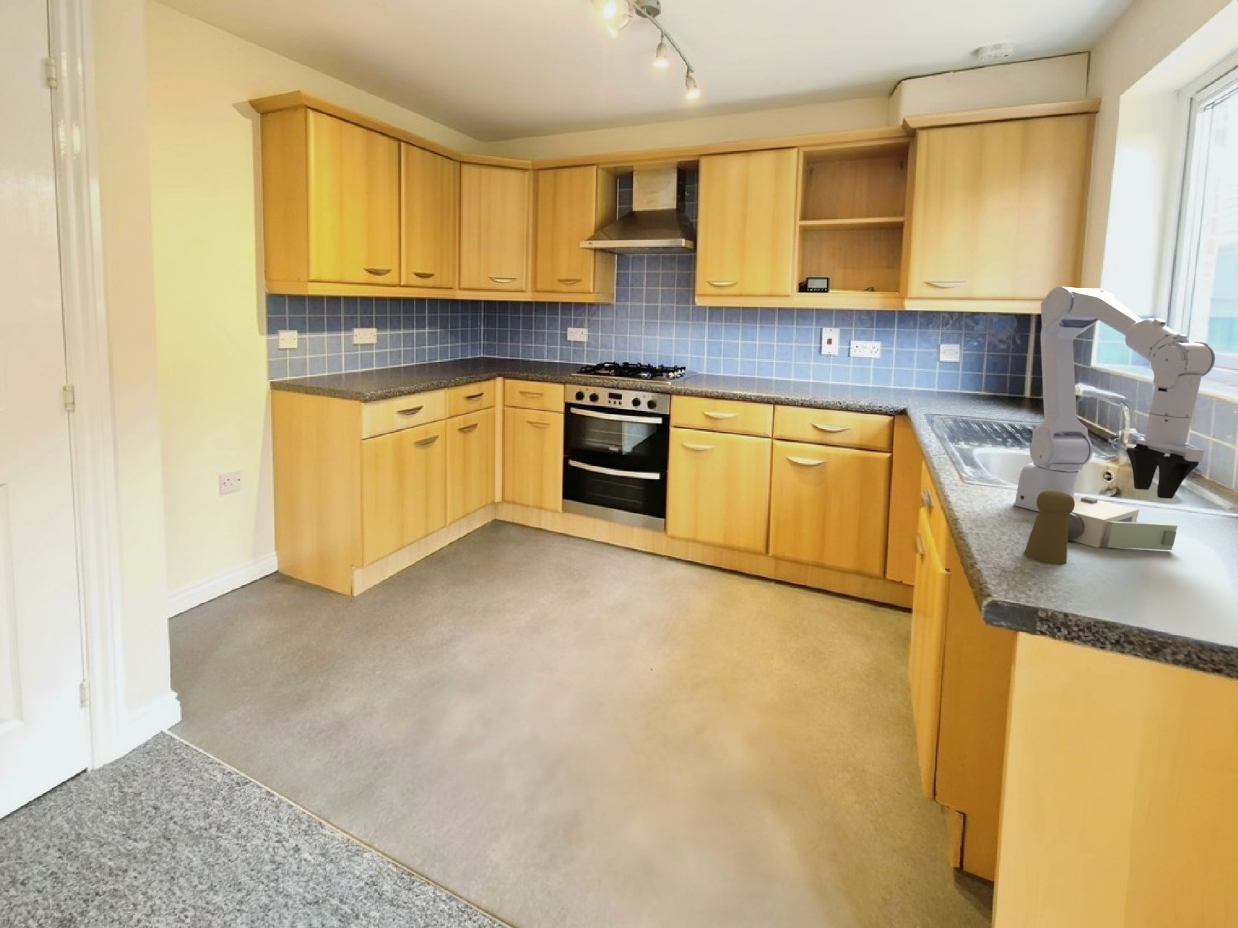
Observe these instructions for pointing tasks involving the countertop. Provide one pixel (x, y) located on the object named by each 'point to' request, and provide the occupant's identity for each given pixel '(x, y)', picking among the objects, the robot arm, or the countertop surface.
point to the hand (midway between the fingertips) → (1152, 493)
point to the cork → (1050, 528)
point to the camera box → (1095, 519)
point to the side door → (1139, 535)
